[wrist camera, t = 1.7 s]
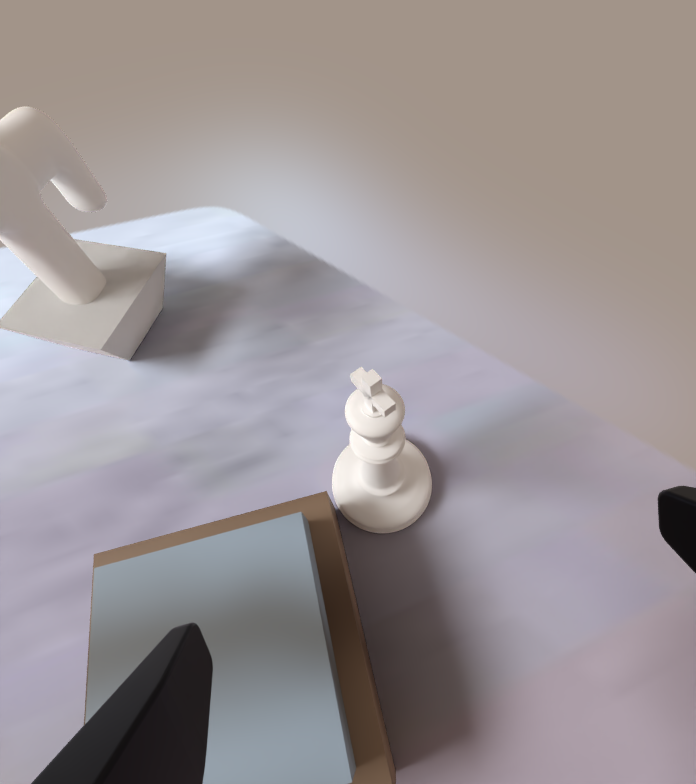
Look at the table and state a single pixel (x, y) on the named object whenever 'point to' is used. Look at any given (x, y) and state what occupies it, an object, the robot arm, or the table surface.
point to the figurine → (69, 248)
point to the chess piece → (379, 461)
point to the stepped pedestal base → (253, 642)
